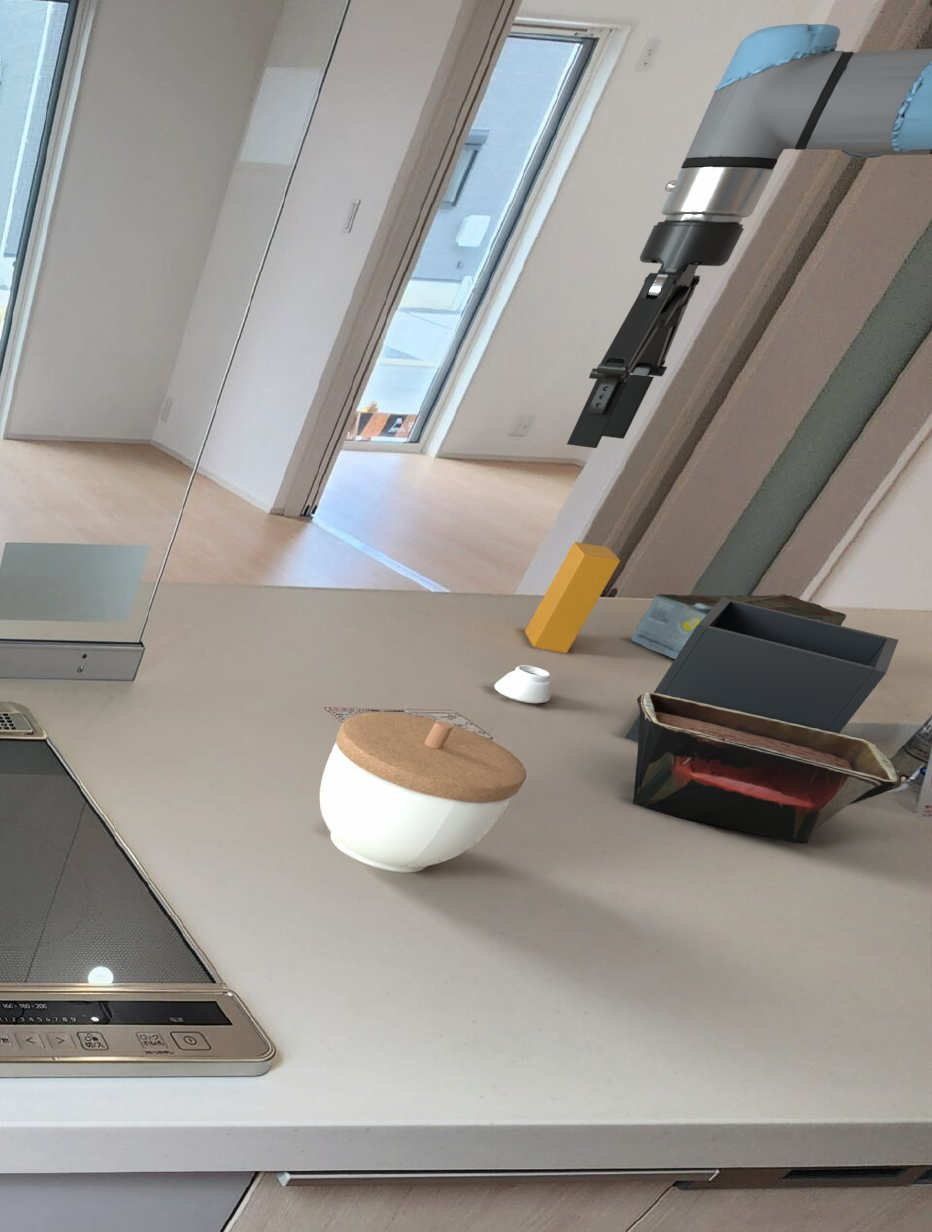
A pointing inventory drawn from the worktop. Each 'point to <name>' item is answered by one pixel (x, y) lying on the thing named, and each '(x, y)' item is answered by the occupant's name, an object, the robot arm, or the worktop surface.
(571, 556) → the block
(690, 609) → the beverage carton
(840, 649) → the bin
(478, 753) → the lidded bowl
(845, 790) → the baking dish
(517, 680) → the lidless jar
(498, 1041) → the worktop surface
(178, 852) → the worktop surface
